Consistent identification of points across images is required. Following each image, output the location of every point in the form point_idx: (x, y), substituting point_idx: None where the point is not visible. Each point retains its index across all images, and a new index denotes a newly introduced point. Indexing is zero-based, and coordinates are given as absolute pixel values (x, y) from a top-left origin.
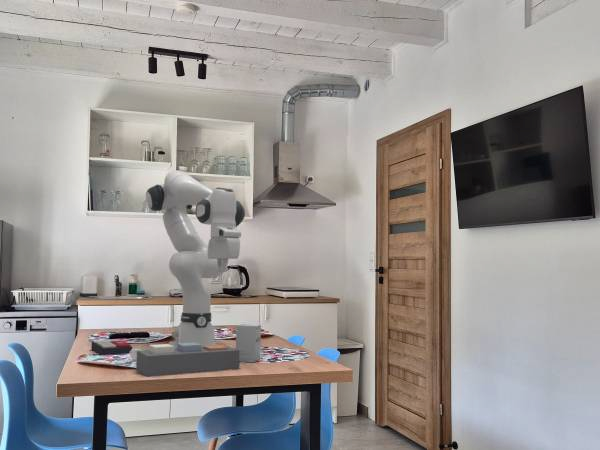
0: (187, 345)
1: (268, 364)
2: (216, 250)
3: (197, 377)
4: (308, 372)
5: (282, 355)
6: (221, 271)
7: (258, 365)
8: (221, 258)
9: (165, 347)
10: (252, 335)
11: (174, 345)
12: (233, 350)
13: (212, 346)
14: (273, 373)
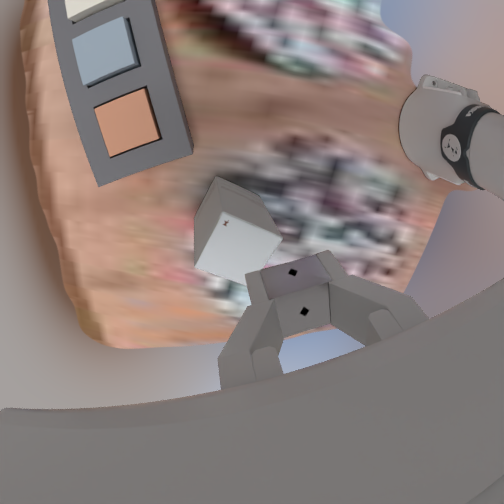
0: (75, 49)
1: (165, 243)
2: (469, 438)
3: (35, 87)
4: (82, 293)
5: None
6: (250, 272)
7: (153, 220)
8: (212, 392)
9: (65, 1)
10: (196, 243)
11: (439, 83)
12: (93, 171)
13: (129, 115)
14: (66, 236)
